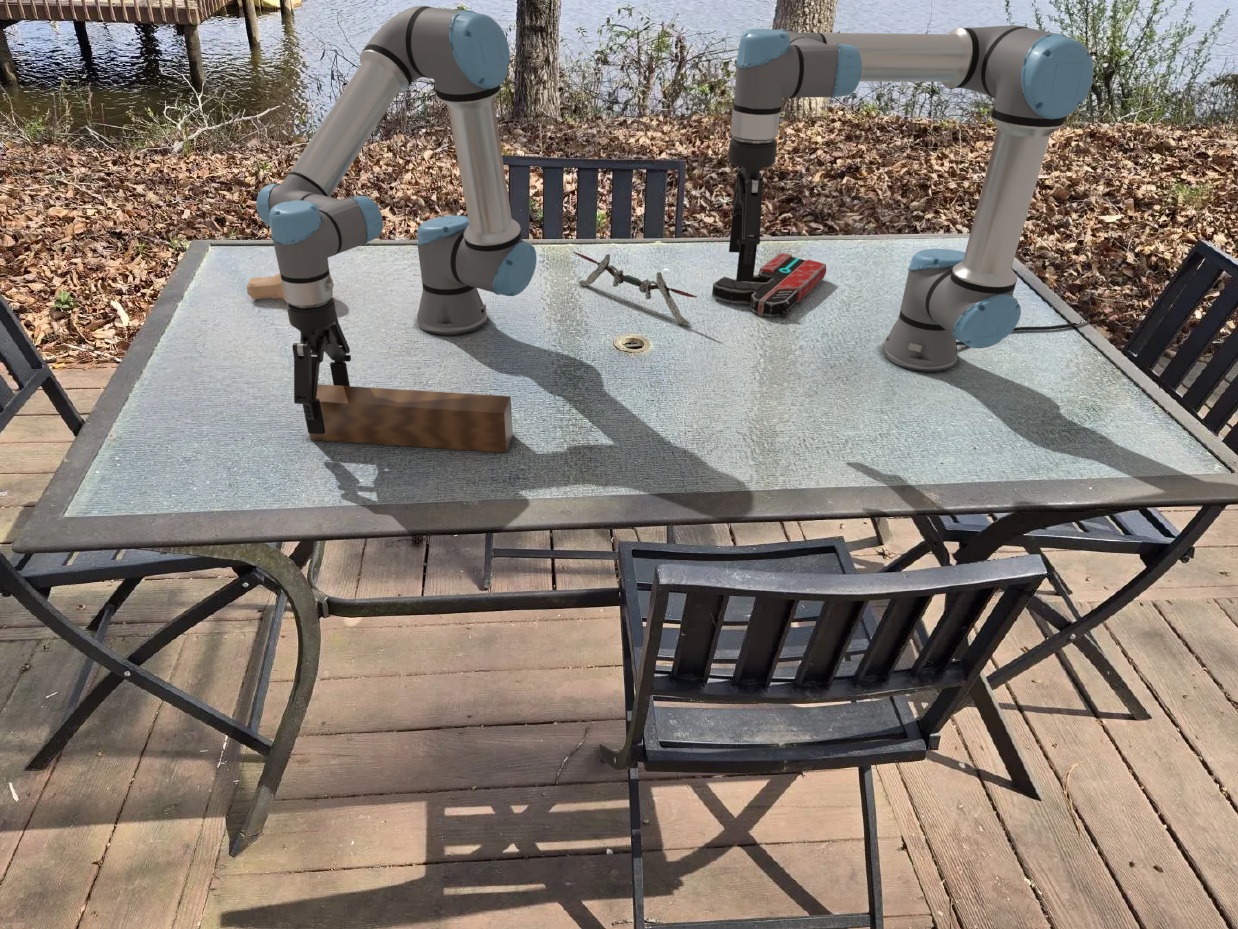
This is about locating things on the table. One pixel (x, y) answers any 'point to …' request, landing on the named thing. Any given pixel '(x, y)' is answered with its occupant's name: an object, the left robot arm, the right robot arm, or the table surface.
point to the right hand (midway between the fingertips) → (740, 265)
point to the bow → (643, 285)
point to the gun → (773, 285)
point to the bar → (415, 418)
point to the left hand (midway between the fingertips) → (330, 413)
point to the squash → (267, 287)
